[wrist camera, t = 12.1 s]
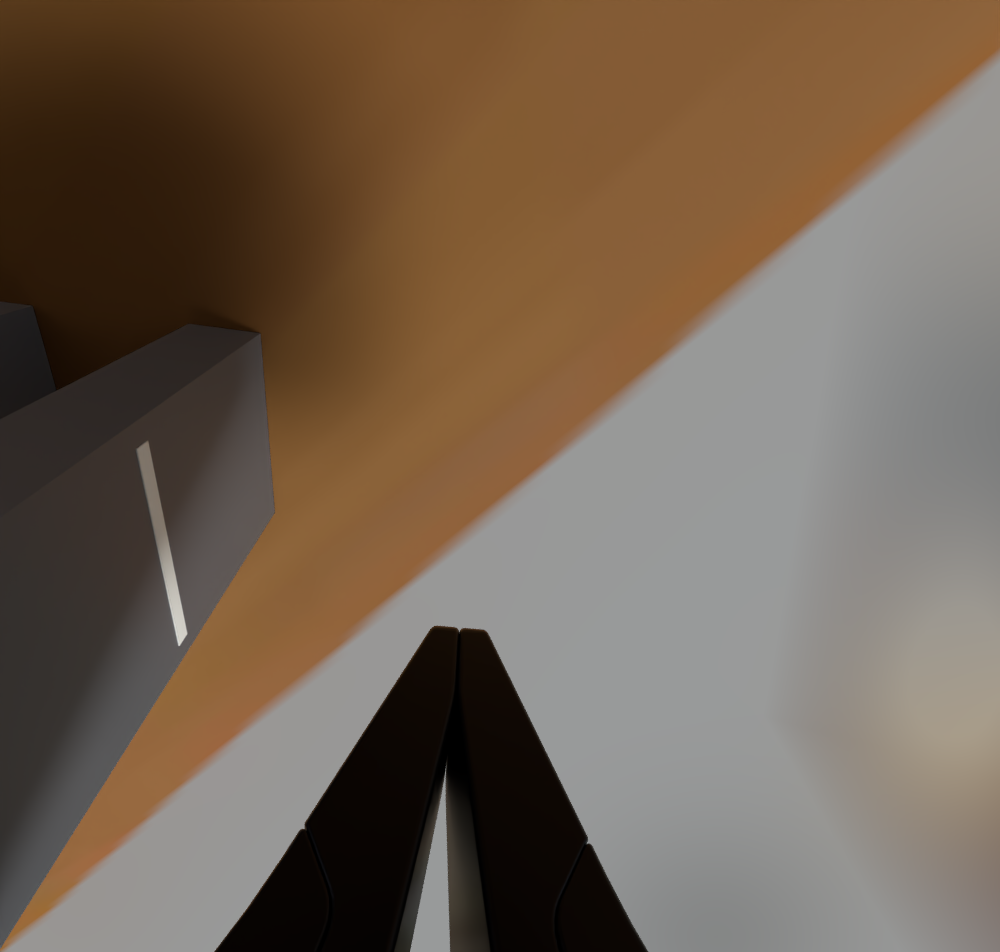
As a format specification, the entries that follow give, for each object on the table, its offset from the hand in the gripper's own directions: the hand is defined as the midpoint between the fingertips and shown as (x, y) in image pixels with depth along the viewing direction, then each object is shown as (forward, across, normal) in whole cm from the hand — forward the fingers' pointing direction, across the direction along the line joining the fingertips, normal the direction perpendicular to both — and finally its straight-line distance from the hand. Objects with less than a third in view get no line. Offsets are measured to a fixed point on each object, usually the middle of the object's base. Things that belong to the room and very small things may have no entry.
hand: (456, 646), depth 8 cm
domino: (+6, +6, 0) cm, 9 cm away
